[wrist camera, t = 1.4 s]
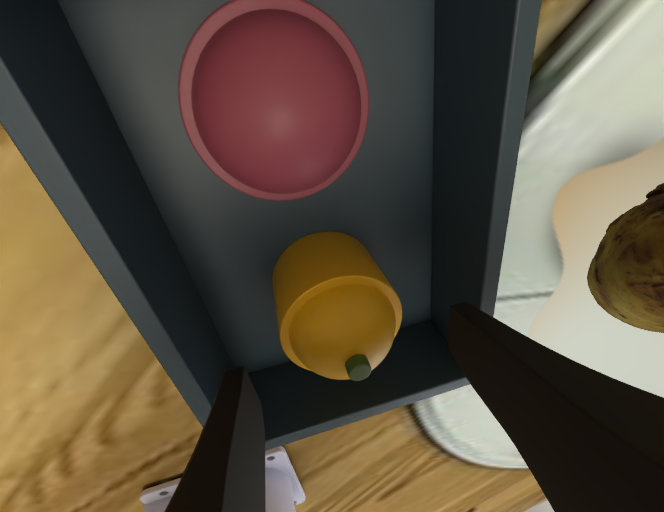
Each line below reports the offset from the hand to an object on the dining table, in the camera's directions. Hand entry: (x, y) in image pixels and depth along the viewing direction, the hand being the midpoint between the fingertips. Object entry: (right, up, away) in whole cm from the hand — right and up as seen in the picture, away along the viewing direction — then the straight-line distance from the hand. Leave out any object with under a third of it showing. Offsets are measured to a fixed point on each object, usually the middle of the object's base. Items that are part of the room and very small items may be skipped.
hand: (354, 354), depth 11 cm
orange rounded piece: (-1, +2, +4) cm, 5 cm away
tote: (-2, +5, +3) cm, 6 cm away
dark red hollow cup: (-3, +9, 0) cm, 9 cm away
